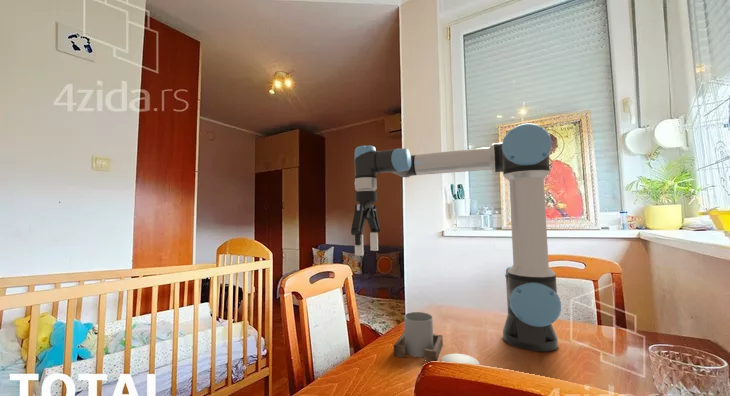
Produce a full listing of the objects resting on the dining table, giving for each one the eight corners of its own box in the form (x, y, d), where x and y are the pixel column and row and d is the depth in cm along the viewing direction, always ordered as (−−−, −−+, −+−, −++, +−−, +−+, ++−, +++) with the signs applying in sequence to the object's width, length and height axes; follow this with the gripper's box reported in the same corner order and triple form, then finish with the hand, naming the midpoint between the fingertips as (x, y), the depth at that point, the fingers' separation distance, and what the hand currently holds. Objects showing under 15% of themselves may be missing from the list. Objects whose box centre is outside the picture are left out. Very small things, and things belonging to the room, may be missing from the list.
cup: (433, 358, 84) (432, 322, 85) (404, 356, 86) (403, 320, 86) (433, 345, 92) (432, 312, 93) (406, 343, 94) (405, 311, 95)
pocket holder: (442, 345, 92) (442, 335, 92) (436, 363, 81) (436, 351, 81) (405, 339, 97) (404, 330, 97) (394, 356, 86) (393, 345, 86)
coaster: (480, 358, 83) (480, 356, 83) (479, 376, 74) (479, 374, 74) (443, 352, 87) (443, 351, 87) (438, 369, 78) (438, 367, 78)
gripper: (369, 193, 116) (370, 248, 115) (339, 188, 93) (340, 257, 92) (387, 192, 113) (389, 249, 112) (361, 187, 90) (363, 258, 89)
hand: (367, 252), depth 102 cm, fingers open, 13 cm apart
